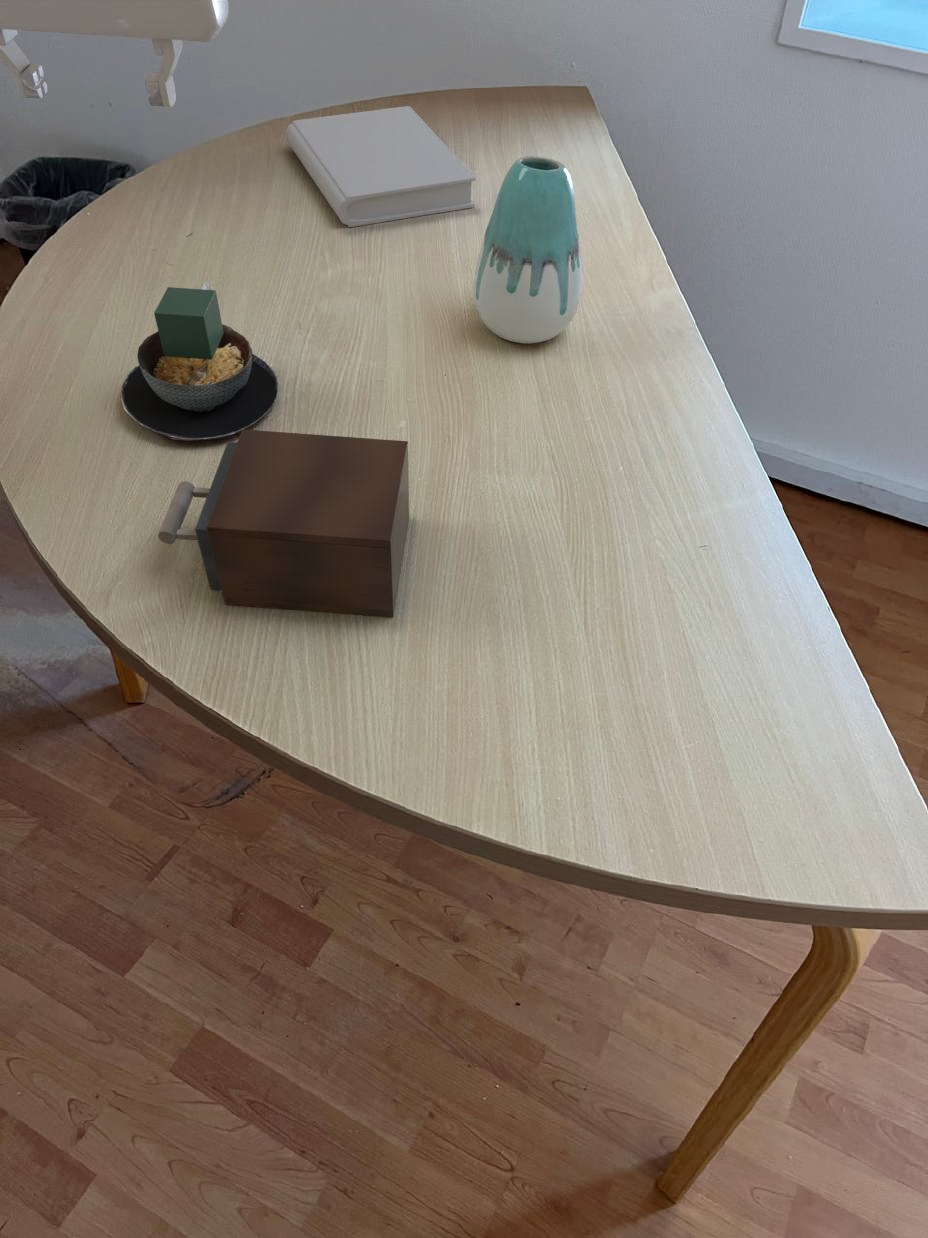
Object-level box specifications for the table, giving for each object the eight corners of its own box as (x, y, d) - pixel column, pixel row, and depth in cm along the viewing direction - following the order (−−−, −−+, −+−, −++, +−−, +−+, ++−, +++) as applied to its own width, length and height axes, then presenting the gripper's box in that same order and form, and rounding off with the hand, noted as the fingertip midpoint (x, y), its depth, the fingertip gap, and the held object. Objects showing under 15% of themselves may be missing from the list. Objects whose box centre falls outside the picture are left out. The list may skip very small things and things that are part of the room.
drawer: (159, 586, 74) (139, 524, 69) (193, 499, 81) (177, 437, 76) (365, 602, 74) (361, 541, 69) (382, 513, 81) (379, 452, 75)
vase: (527, 288, 108) (543, 125, 94) (598, 332, 102) (625, 166, 88) (450, 320, 103) (454, 153, 89) (519, 369, 97) (535, 199, 83)
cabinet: (224, 604, 74) (206, 527, 68) (256, 507, 82) (241, 428, 75) (393, 617, 74) (390, 540, 68) (409, 518, 82) (408, 440, 75)
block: (164, 356, 86) (153, 312, 83) (177, 329, 89) (167, 286, 86) (212, 359, 86) (203, 316, 83) (223, 333, 89) (216, 289, 86)
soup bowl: (92, 420, 89) (70, 353, 83) (191, 337, 99) (177, 272, 93) (224, 465, 85) (210, 398, 80) (312, 374, 95) (305, 309, 89)
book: (409, 105, 131) (475, 177, 117) (409, 133, 134) (474, 207, 120) (284, 121, 126) (337, 198, 112) (287, 150, 129) (339, 229, 115)
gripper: (-155, -144, 55) (-62, 107, 65) (188, -124, 54) (226, 126, 65) (-105, -166, 59) (-25, 74, 69) (215, -147, 58) (247, 91, 69)
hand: (99, 99), depth 67 cm, fingers open, 8 cm apart
